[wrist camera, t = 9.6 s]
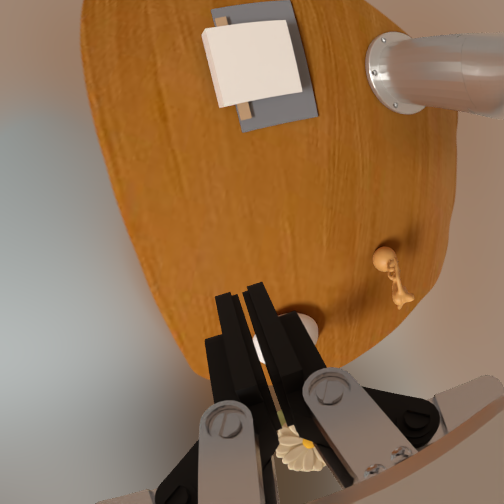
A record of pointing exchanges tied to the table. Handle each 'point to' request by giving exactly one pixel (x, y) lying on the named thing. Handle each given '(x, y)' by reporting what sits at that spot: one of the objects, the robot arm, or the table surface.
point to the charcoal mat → (303, 102)
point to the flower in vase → (291, 445)
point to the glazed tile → (251, 61)
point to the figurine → (385, 262)
